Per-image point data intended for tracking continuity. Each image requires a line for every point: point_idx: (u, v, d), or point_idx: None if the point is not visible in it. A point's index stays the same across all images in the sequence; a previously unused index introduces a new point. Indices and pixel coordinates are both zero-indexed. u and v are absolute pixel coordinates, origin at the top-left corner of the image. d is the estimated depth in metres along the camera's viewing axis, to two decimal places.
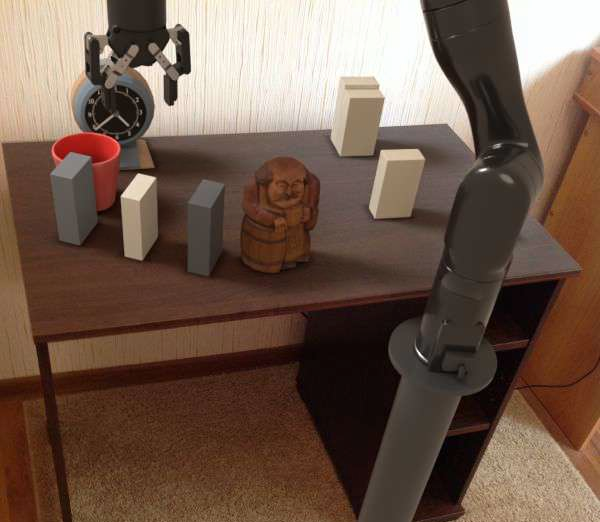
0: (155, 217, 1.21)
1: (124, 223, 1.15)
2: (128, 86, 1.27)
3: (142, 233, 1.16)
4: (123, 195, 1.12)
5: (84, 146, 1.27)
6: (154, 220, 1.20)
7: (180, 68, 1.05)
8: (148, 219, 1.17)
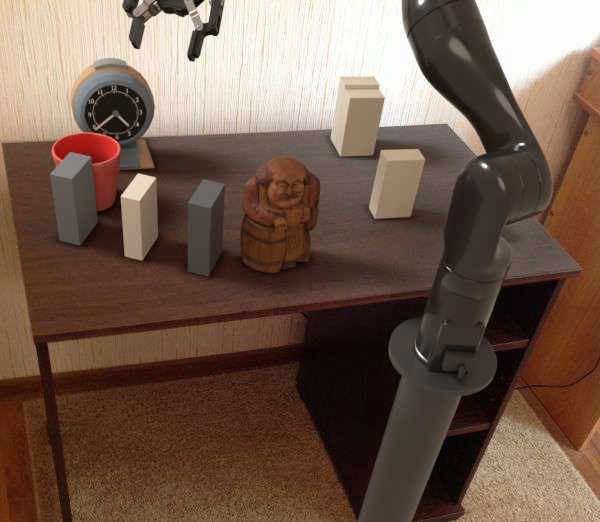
0: (155, 217, 1.21)
1: (124, 223, 1.15)
2: (128, 86, 1.27)
3: (142, 233, 1.16)
4: (123, 195, 1.12)
5: (84, 146, 1.27)
6: (154, 220, 1.20)
7: (207, 23, 1.09)
8: (148, 219, 1.17)
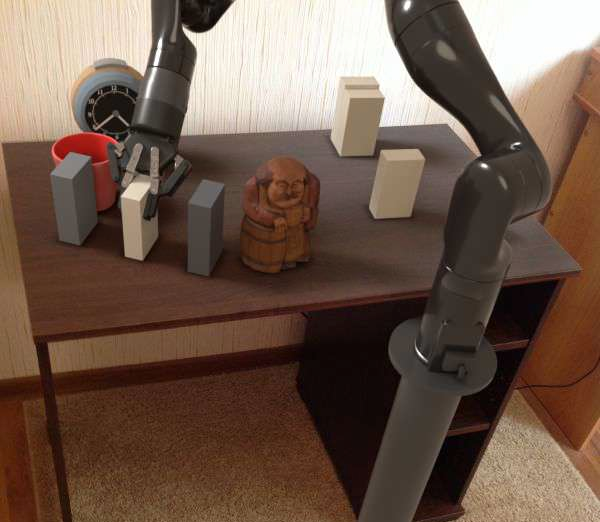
0: (155, 217, 1.20)
1: (124, 223, 1.15)
2: (128, 86, 1.27)
3: (142, 233, 1.16)
4: (123, 195, 1.12)
5: (84, 146, 1.27)
6: (154, 220, 1.20)
7: None
8: None
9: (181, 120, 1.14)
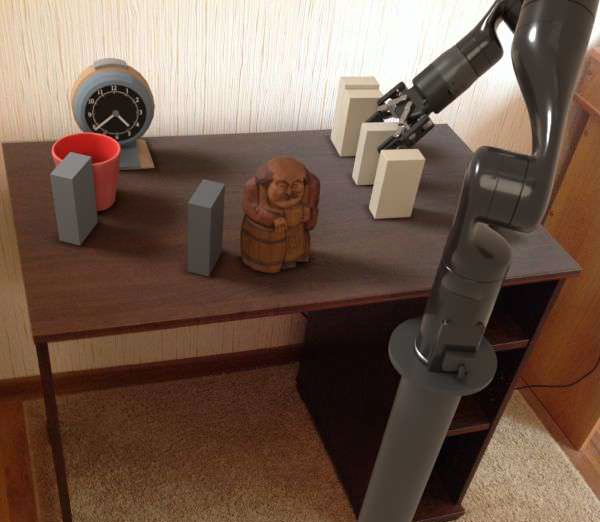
0: None
1: (358, 147, 1.39)
2: (128, 86, 1.27)
3: (362, 161, 1.39)
4: (364, 123, 1.36)
5: (84, 146, 1.27)
6: None
7: None
8: (377, 156, 1.39)
9: (444, 93, 1.30)
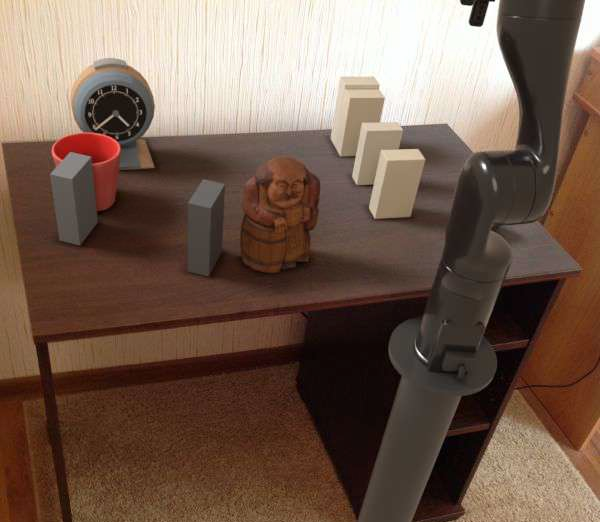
0: None
1: (358, 147, 1.39)
2: (128, 86, 1.27)
3: (362, 161, 1.39)
4: (364, 123, 1.36)
5: (84, 146, 1.27)
6: None
7: None
8: (377, 156, 1.39)
9: None
